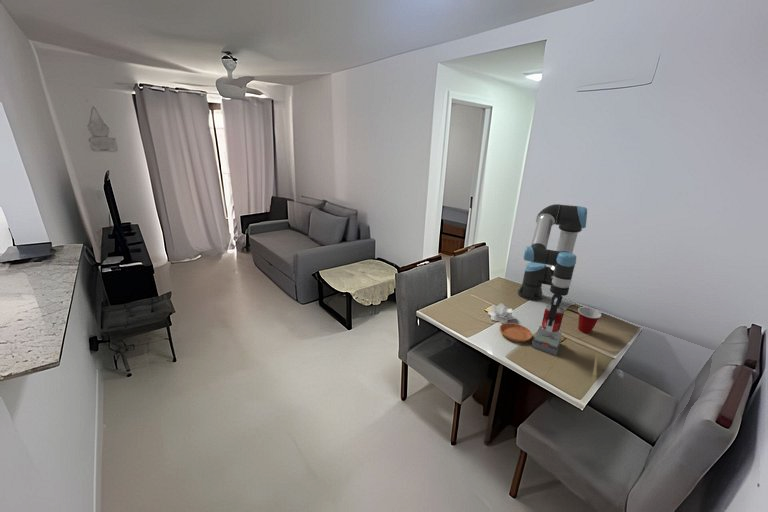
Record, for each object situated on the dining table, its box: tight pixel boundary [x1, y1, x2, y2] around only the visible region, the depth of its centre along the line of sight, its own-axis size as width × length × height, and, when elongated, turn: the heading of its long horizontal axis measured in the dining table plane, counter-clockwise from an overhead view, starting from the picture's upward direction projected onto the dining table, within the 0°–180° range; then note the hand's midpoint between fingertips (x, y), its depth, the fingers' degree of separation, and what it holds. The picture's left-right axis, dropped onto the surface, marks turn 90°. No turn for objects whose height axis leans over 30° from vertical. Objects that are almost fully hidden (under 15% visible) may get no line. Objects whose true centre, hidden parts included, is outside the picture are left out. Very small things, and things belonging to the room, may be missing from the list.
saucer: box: [499, 322, 533, 343], centre depth 160 cm, size 16×16×3 cm
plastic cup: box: [577, 306, 602, 334], centre depth 165 cm, size 11×11×12 cm
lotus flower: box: [487, 302, 515, 324], centre depth 176 cm, size 14×15×9 cm
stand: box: [531, 325, 563, 356], centre depth 151 cm, size 13×11×7 cm
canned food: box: [541, 304, 565, 332], centre depth 148 cm, size 8×8×11 cm
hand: (550, 327), depth 149 cm, fingers closed on canned food, 8 cm apart
